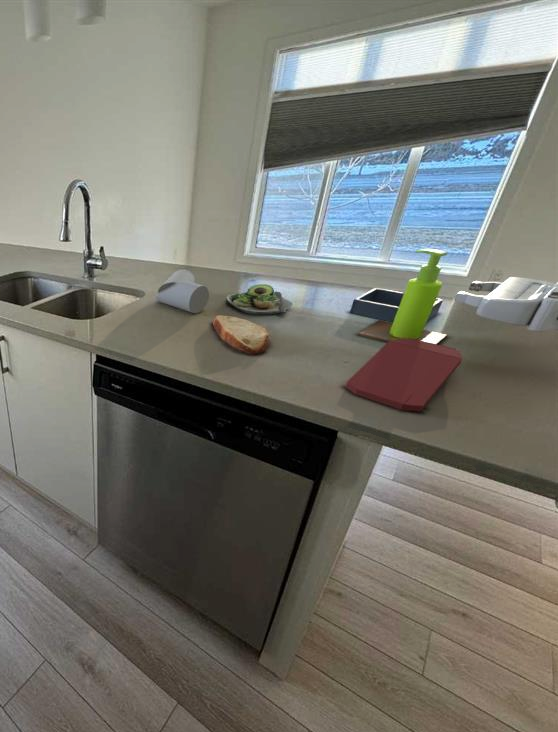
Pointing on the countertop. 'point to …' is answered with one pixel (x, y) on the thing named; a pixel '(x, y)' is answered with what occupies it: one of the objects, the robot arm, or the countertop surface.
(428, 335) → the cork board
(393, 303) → the dark blue tray
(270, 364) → the countertop surface
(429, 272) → the soap dispenser
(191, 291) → the elbow connector
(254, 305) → the salad plate
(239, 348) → the bread slice
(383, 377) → the maroon flat slab
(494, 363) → the countertop surface
